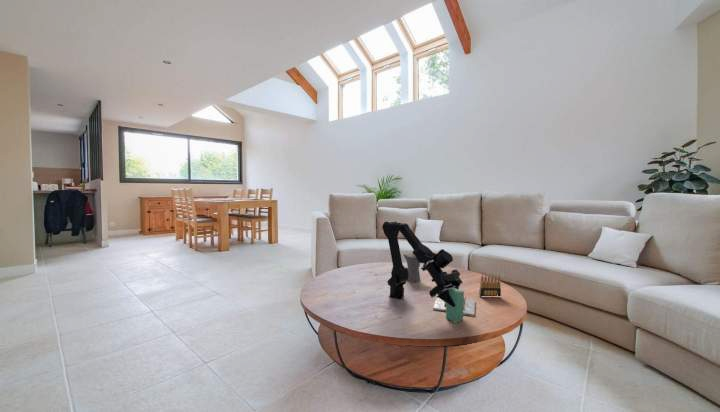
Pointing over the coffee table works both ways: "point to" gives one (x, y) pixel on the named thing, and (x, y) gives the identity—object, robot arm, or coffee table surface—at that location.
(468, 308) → the chassis
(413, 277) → the coffeepot
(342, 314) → the coffee table surface
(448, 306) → the green block
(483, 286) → the ammunition clip
